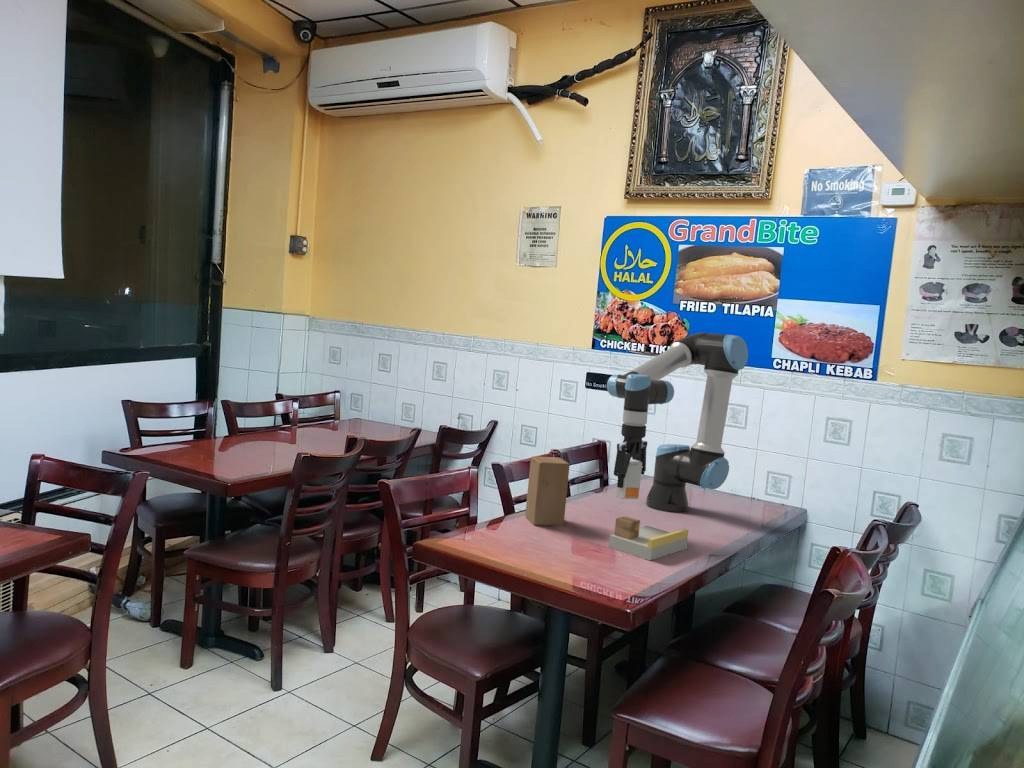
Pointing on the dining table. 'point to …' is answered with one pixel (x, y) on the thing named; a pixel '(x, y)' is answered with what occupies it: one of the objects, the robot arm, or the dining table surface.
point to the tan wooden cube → (627, 527)
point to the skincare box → (633, 479)
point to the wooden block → (547, 491)
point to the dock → (651, 543)
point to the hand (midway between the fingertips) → (627, 495)
